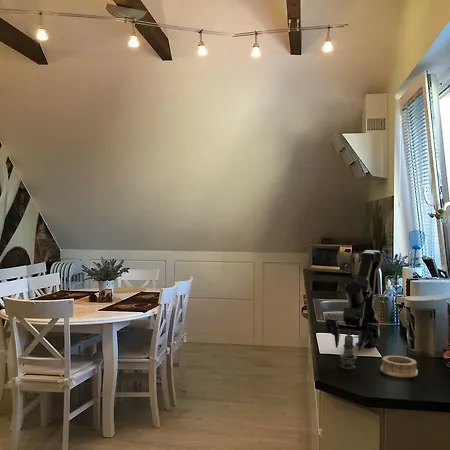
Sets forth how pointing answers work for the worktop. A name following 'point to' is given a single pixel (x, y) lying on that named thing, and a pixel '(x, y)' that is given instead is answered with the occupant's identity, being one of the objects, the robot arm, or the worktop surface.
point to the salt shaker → (348, 353)
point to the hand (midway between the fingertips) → (347, 348)
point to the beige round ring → (399, 366)
